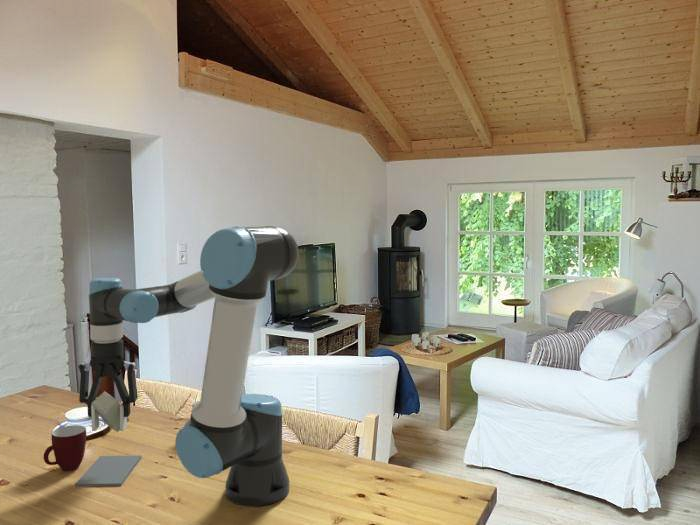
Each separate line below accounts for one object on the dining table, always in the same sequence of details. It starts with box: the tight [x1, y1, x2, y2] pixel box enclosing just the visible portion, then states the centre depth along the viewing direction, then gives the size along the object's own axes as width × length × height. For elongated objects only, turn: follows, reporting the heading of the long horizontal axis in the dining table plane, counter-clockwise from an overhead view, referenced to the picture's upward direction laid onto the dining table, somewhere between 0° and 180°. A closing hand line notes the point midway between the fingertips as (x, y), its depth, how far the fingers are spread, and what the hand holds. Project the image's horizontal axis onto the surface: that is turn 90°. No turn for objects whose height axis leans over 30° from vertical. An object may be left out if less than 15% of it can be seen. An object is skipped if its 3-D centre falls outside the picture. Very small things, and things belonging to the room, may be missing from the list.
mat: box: [74, 454, 142, 487], centre depth 149 cm, size 11×16×1 cm
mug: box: [43, 424, 87, 472], centre depth 149 cm, size 10×8×10 cm
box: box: [92, 390, 130, 433], centre depth 149 cm, size 5×4×11 cm
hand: (109, 428), depth 148 cm, fingers closed on box, 6 cm apart
